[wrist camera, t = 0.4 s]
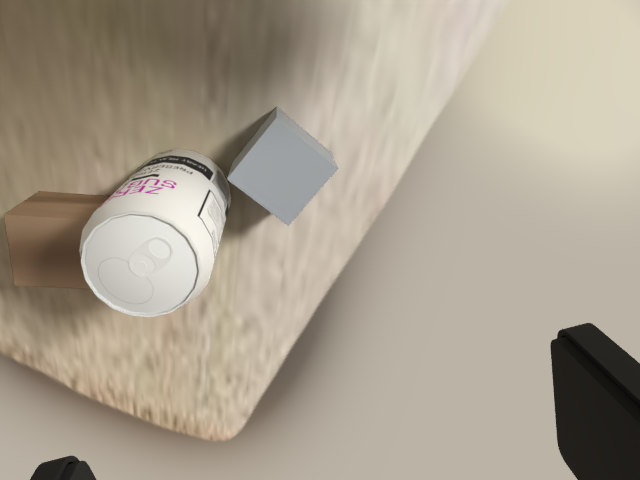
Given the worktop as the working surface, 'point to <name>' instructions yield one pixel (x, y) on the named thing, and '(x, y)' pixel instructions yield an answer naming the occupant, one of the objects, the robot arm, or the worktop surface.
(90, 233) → the supplement can
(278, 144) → the slate grey block
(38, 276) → the walnut block
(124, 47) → the worktop surface
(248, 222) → the worktop surface
